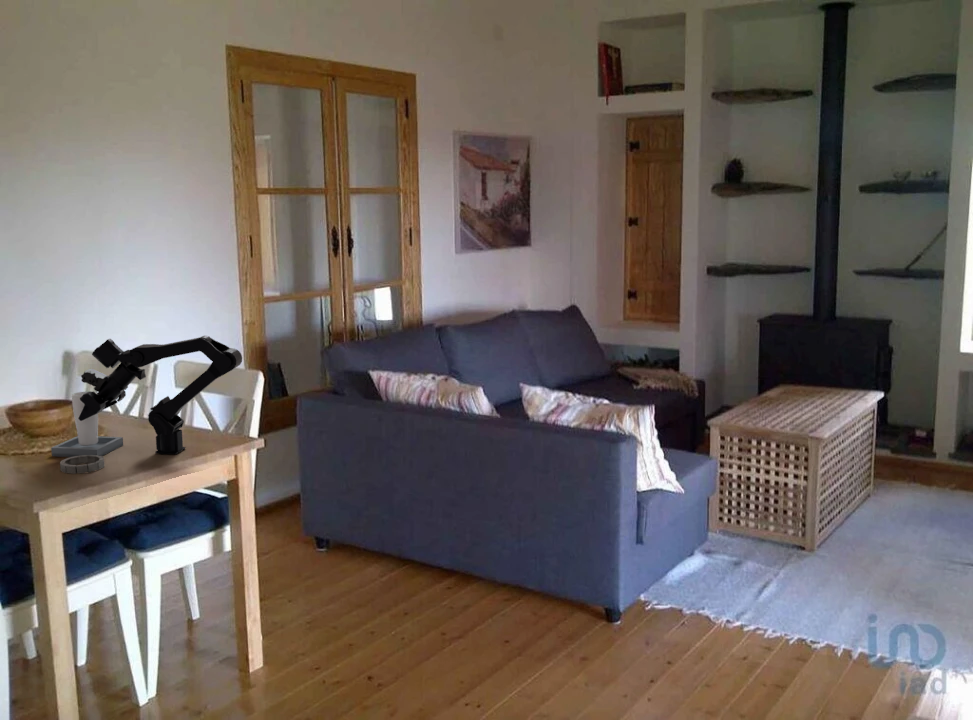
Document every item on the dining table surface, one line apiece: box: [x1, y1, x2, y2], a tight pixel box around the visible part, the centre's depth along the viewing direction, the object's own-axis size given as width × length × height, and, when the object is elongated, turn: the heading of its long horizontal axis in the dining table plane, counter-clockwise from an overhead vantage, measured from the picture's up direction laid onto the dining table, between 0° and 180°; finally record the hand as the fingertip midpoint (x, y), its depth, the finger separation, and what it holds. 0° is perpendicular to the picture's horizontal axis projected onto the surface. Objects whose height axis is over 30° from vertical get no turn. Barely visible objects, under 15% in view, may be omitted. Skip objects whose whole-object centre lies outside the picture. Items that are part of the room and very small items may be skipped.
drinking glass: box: [71, 390, 99, 446], centre depth 274 cm, size 7×7×15 cm
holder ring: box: [59, 455, 105, 475], centre depth 259 cm, size 11×11×2 cm
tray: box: [50, 435, 124, 458], centre depth 275 cm, size 14×14×2 cm
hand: (85, 416), depth 274 cm, fingers closed on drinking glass, 7 cm apart
